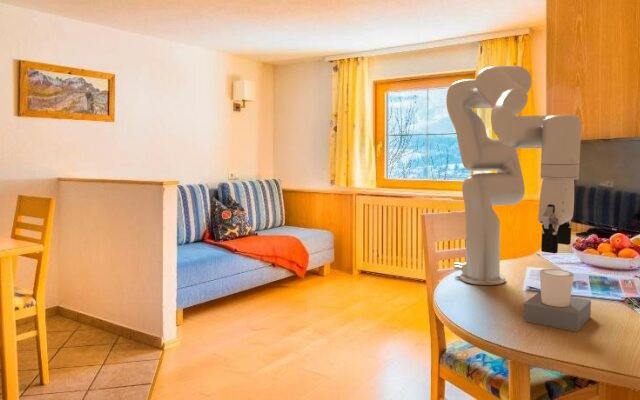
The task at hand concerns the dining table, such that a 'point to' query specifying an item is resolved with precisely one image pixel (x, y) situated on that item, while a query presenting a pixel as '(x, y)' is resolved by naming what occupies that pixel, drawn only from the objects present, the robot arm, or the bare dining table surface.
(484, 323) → the dining table surface
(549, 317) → the slate plinth
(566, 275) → the white cup
